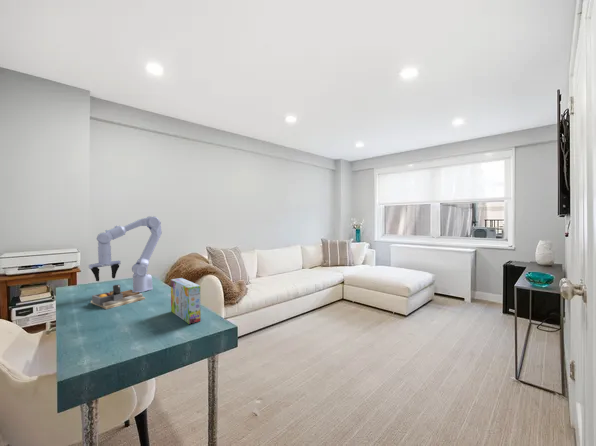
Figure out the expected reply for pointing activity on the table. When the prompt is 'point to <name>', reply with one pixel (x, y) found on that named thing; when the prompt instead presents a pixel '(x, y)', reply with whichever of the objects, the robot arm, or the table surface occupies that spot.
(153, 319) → the table surface
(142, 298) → the beige grooved board
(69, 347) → the table surface
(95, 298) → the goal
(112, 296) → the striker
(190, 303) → the snack box
